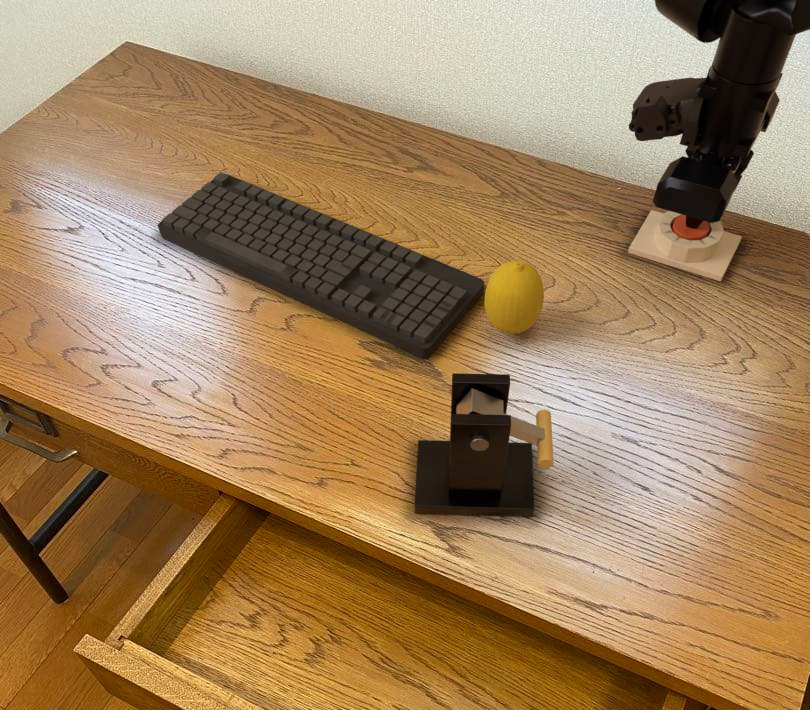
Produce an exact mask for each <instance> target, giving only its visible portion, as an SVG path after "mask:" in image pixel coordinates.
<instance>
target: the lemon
mask: <svg viewBox="0 0 810 710" xmlns="http://www.w3.org/2000/svg"><path fill="white" fill-rule="evenodd" d="M543 284H544V283H543V280H542V277H541V275H540V273H539V271H538V270H537V269H536V268H535V267H534V266H533V265H531V264H530V263H528V262H526V261H521V260H512V261H507V262H505V263H503V264H501V265H500V266H498V267H497V268H496V269H495V271H494V272H493V273H492V274H491V275H490V278H489V280H488V283H487V285H486V288H485V291H484V310H485V314H486V317H487V320H488V321H489V322H490V324H491V325H492V327H494V328H495V329H497V331H500V332H502V333H504V334H509V335H514V334H515V335H516V334H520V333H523V332H525V331H527V330H529V329H530V328H531V327H532V326H533V325H534V324H535V323H536V322H537V320H538V318H539V317H540V315H541V313H542V309H543V304H544V299H545V292H544V291H545V290H544V285H543Z"/></svg>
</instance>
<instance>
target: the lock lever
mask: <svg viewBox="0 0 810 710" xmlns="http://www.w3.org/2000/svg"><path fill="white" fill-rule="evenodd" d="M456 414H485V415H508V414H507V413H506V414H505V413H503V400H501V399H498V398H496V397H493V396H491V395H488V394H485V393H483V392H480V391H478V390H475V389H473V388H472V389H471V390H470V391H469V392H468V394H467V395H466V396H465V397H464V398H463V399H462V401H461V402H460V403H459V404H458V405H457V411H456ZM552 425H553V424H552V413H551V411H550V410H547V409H540V410H538V411H537V412H536V414H535V424H534V423H530V422H527V421H525V420H523V419H520V418H517V417H516V416H512V415H511V430H510V437H512V438H515V439H518V440H520V441H524V442H525V443H531V444H532V445H534V446H536V447H537V448H536V450H537V451H536V452H537V466H538V467H540V469H549V468H552V467H553V466H554V464H555V463H554V462H555V461H554V444H553V443H554V441H553V427H552Z"/></svg>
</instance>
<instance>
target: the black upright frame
mask: <svg viewBox="0 0 810 710" xmlns="http://www.w3.org/2000/svg"><path fill="white" fill-rule="evenodd" d="M472 388H473V389H475V390H478V391H480V392H483V393H485V394H488V395H491V396H493V397H496V398H498V399H501V400H503V413H505V414H507V411H508V405H509V397H510V389H511V375H510V374H503V373H452V374H451V397H450V398H451V399H450V424H449V425H450V429H449V440H428V439H427V440H425V439H419V440H417V455H416V457H417V458H416V469H415V470H416V471H415V488H414V514H416V515H417V514H418V515H419V514H420V515H452V516H453V515H455V516H482V517H483V516H487V517H517V518H519V517H520V518H524V517H525V518H533V517H534V513H535V486H534V484H535V483H534V461H533V444H531V443H528V442H511V441H510V437H511V436H510V430H511V416H512V415H511V414H507V415H485V414H456V411H457V405H458V404H459V403H460V402H461V401H462V399H463V398H464V397H465V396H466V395H467V394H468V392H469V391H470V390H471V389H472Z"/></svg>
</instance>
